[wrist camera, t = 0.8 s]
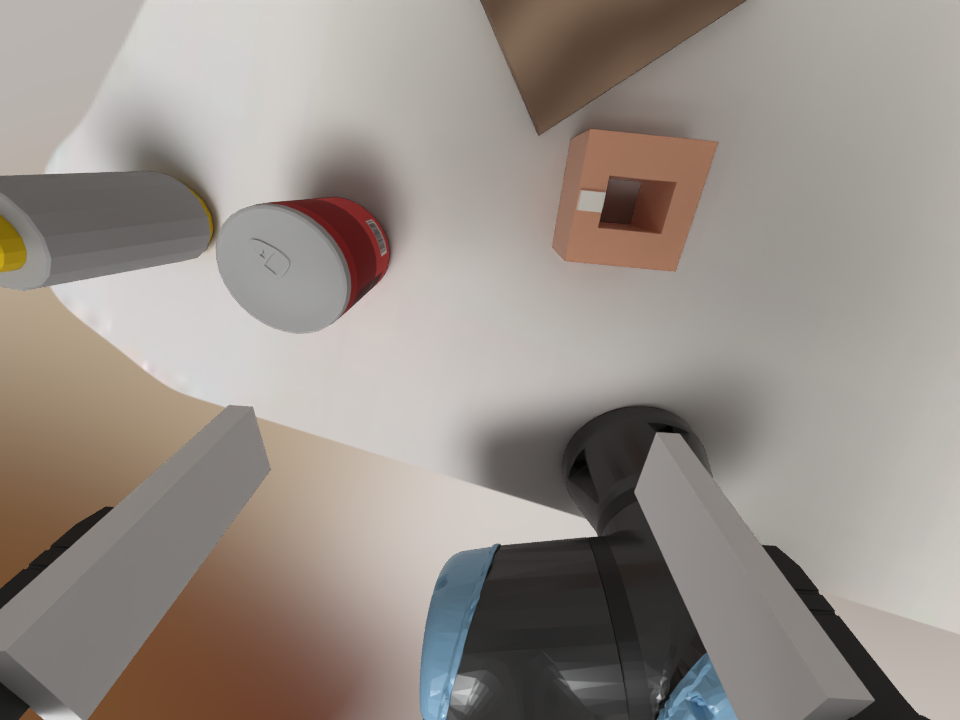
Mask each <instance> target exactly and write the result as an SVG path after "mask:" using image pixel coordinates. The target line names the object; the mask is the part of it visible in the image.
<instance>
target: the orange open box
mask: <svg viewBox="0 0 960 720" xmlns="http://www.w3.org/2000/svg"><path fill="white" fill-rule="evenodd" d="M717 145H718V142H715V141H706V140H696V139H686V138H676V137H666V136H656V135H646V134H636V133H626V132H617V131H607V130H597V129H589V130H587V131H585V132H583V133H582V134H580V135H578V136H576V137H574V138H572V139H571V140H570V146H569V152H568V157H567V163H566V169H565V175H564V181H563V186H562V192H561V198H560V204H559V209H558V215H557V221H556V227H555V233H554V238H553V244H552V248H553V249H554V250H555V251H556V252H557V253H558V254H559V255H560V256H561V257H562V258H563V259H564V260H565V261H570V262H581V263H591V264H602V265H612V266H623V267H633V268H644V269H654V270H665V271H676V268H677V265H678V262H679V259H680V256H681V253H682V250H683V247H684V244H685V241H686V238H687V235H688V232H689V229H690V226H691V223H692V220H693V217H694V214H695V211H696V208H697V205H698V202H699V199H700V196H701V193H702V190H703V187H704V184H705V181H706V178H707V175H708V172H709V169H710V166H711V163H712V160H713V157H714V154H715V151H716V148H717ZM609 179H614V180H624V181H634V182H642V183H641V186H640V190H639V194H638V198H637V202H636V206H635V209H634V213H633V217H632V221H631V225H628V224H618V223H608V222H599V221H600V216H601V213H602V208H603V204H604V199H605V195H606V189H607V185H608V180H609Z"/></svg>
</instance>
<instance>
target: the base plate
mask: <svg viewBox="0 0 960 720" xmlns="http://www.w3.org/2000/svg"><path fill="white" fill-rule="evenodd" d="M480 1H481V3H482V6H483V8H484V10H485V13H486V15H487V17H488V19H489V22H490V24H491V26H492V29H493V31H494V33H495V36H496V38H497V40H498V43H499V45H500V47H501V50H502V52H503V54H504V57H505V59H506V61H507V64H508V66H509V68H510V71H511V73H512V75H513V78H514V80H515V82H516V85H517V87H518V89H519V92H520V94H521V96H522V99H523V101H524V103H525V106H526V108H527V110H528V113H529V115H530V117H531V119H532V122H533V124H534V126H535V129H536V131H537V133H538V136H539V135H541V134H542V133H544V132H545V131H547V130H548V129H550V128H551V127H553V126H554V125H556V124H558V123H559V122H561V121H562V120H564V119H565V118H567V117H568V116H570V115H571V114H573V113H574V112H576V111H577V110H579V109H581V108H582V107H584V106H585V105H587V104H588V103H590V102H591V101H593V100H594V99H596V98H597V97H599V96H601V95H602V94H604V93H605V92H607V91H608V90H610V89H611V88H613V87H614V86H616V85H617V84H619V83H620V82H622V81H624V80H625V79H627V78H628V77H630V76H631V75H633V74H634V73H636V72H637V71H639V70H640V69H642V68H643V67H645V66H647V65H648V64H650V63H651V62H653V61H654V60H656V59H657V58H659V57H660V56H662V55H663V54H665V53H666V52H668V51H670V50H671V49H673V48H674V47H676V46H677V45H679V44H680V43H682V42H683V41H685V40H686V39H688V38H689V37H691V36H693V35H694V34H696V33H697V32H699V31H700V30H702V29H703V28H705V27H706V26H708V25H709V24H711V23H713V22H714V21H716V20H717V19H719V18H720V17H722V16H723V15H725V14H726V13H728V12H729V11H731V10H732V9H734V8H736V7H737V6H739V5H740V4H742V3H743V2H745V1H746V0H480Z"/></svg>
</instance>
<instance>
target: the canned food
mask: <svg viewBox="0 0 960 720" xmlns="http://www.w3.org/2000/svg"><path fill="white" fill-rule="evenodd" d="M216 259H217V264H218V268H219V272H220V274H221V277H222V279H223V281H224V284H225V285H226V287H227V288H228V290H229V292H230V293H231V295H232V296H233V297H234V299H235V300H236V301H237V302H238V303H239V305H240V306H241V307H243V308H244V309H245V310H246V311H247V312H248V313H249V314H250V315H252V316H253V317H255V318H256V319H258V320H259V321H260V322H262V323H264V324H266V325H268V326H270V327H272V328H275V329H278V330H281V331H284V332H290V333H297V334H299V333H311V332H315V331H319V330H321V329H323V328H325V327H327V326H329V325H331V324H333V323H334V322H335V321H336V320H337V319H339V318H340V317H341V316H342V315H343V314H345V313H346V312H347V311H348V310H349V309H350V308H351V307H352V306H353V305H354V304H355V303H357V302H358V301H359V300H360V299H361V298H362V297H363V296H364V295H365V294H366V293H367V292H368V291H370V290H371V289H372V288H373V287H374V286H375V285H376V284H377V283H378V282H379V281H380V280H381V279H382V277H383V276H384V275H385V272H386V270H387V268H388V263H389V246H388V241H387V238H386V235H385V233H384V230H383V229H382V227H381V225H380V224H379V222H378V221H377V220H376V219H375V218H374V216H373V215H372V214H371V213H369V212H368V211H367V210H366V209H365V208H364V207H362V206H360V205H358V204H357V203H355V202H353V201H350V200H347V199H344V198H338V197H330V198H317V199H305V200H293V201H281V202H269V203H263V204H256V205H253V206H250V207H246V208H244V209H241V210H239V211H237V212H236V213H234V214H233V215H231V216H230V217H229V218H228V219H227V220H226V222H225V223H224V224H223V226H222V228H221V230H220V232H219V234H218V238H217V243H216Z"/></svg>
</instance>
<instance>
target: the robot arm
mask: <svg viewBox="0 0 960 720" xmlns="http://www.w3.org/2000/svg"><path fill="white" fill-rule="evenodd" d="M562 468H563V474H564V478H565V482H566V486H567V489H568V492H569V494H570V496H571V498H572V499H573V501H574V502H575V503H576V505H577V506H578V508H579V509H580V510H581V512H582V513H583V514H584V516H585V517H586V519H587V520H588V521H589V522H590V524H591V525H592V527H593V528H594V529H595V531H596V532H597V535H598V537H589V538H586V537H585V538H574V539H564V540H553V541H543V542H532V543H522V544H511V545H501V544H495V545H493V546H492V547H488V548H481V549H474V550H467V551H462V552H459V553H457V554H455V555H454V556H452V557H451V558H450V559H449V560H448V561H447V562H446V564H445V565H444V567H443V569H442V570H441V572H440V575H439V577H438V579H437V582H436V585H435V588H434V592H433V595H432V598H431V603H430V607H429V611H428V616H427V621H426V627H425V633H424V640H423V648H422V658H421V671H420V710H421V714H422V717H423V720H930V719H928V718H926V717H924V716H921V715H919V714H918V713H917V712H916V711H915V710H914V709H913V708H912V707H911V705H910V704H909V703H908V702H907V701H906V700H905V699H904V698H903V696H902V695H901V694H900V693H899V691H898V690H897V689H896V688H895V686H894V685H893V684H892V682H891V681H890V680H889V679H888V677H887V676H886V675H885V674H884V672H883V671H882V670H881V669H880V667H879V666H878V665H877V663H876V662H875V661H874V660H873V659H872V657H871V656H870V655H869V653H868V652H867V651H866V650H865V648H864V647H863V646H862V645H861V643H860V642H859V641H858V639H857V638H856V637H855V636H854V634H853V633H852V632H851V631H850V629H849V628H848V627H847V626H846V624H845V623H844V622H843V621H842V619H841V618H840V617H839V616H837V615H835V612H834V611H835V610H834V609H833V608H832V607H831V605H830V604H829V603H828V602H827V600H826V599H825V598H824V597H823V595H820V594H819V592H818V591H819V590H818V589H817V588H816V586H815V585H814V584H813V583H812V581H811V580H810V579H809V577H808V576H807V575H806V574H805V572H804V571H803V570H802V569H801V567H800V566H799V565H797V564H796V563H795V562H794V561H793V560H792V559H790V558H789V557H788V556H787V555H786V554H785V553H783V552H782V551H781V550H780V549H779V548H778V547H776V546H768V545H761V544H760V543H759V541H758V540H757V538H756V537H755V536H754V534H753V533H752V532H751V530H750V529H749V528H748V526H747V525H746V523H745V522H744V521H743V519H742V518H741V517H740V515H739V514H738V513H737V511H736V510H735V508H734V507H733V506H732V504H731V503H730V502H729V500H728V499H727V498H726V496H725V495H724V493H723V492H722V491H721V489H720V488H719V487H718V485H717V484H716V483H715V481H714V480H713V477H712V473H711V469H710V466H709V462H708V458H707V455H706V451H705V449H704V446H703V445H702V443H701V441H700V439H699V438H698V437H697V435H696V434H695V433H694V432H693V431H692V429H691V428H690V427H689V426H688V425H687V423H686V422H684V421H683V420H682V419H681V418H679V417H678V416H676V415H674V414H672V413H670V412H668V411H665V410H662V409H658V408H652V407H629V408H623V409H618V410H614V411H611V412H608V413H606V414H603V415H601V416H599V417H597V418H595V419H594V420H592V421H590V422H589V423H588V424H586V425H585V426H584V427H582V428H581V429H580V430H579V431H578V432H577V433H576V434H575V435H574V437H573V438H572V439H571V441H570V442H569V444H568V446H567V448H566V450H565V453H564V456H563V463H562ZM270 470H271V468H270V465H269V462H268V458H267V455H266V451H265V447H264V444H263V440H262V437H261V434H260V430H259V427H258V423H257V420H256V416H255V413H254V409H253V407H249V406H233V405H229V406H228V407H226V408H225V409H224V410H223V411H222V412H221V413H220V414H219V415H218V416H216V417H215V418H214V419H213V420H212V421H211V422H210V423H209V424H208V425H206V426H205V427H204V428H203V429H202V430H201V431H200V432H198V433H197V434H196V435H195V436H194V437H193V438H192V439H191V440H189V441H188V442H187V443H186V444H185V445H184V446H183V447H182V448H181V449H179V450H178V451H177V452H176V453H175V454H174V455H173V456H172V457H170V458H169V459H168V460H167V461H166V462H165V463H164V464H163V465H162V466H160V467H159V468H158V469H157V470H156V471H155V472H154V473H153V474H151V475H150V476H149V477H148V478H147V479H146V480H145V481H144V482H142V483H141V484H140V485H139V486H138V487H137V488H136V489H135V490H133V491H132V492H131V493H130V494H129V495H128V496H127V497H126V498H124V499H123V500H122V501H121V502H120V503H119V504H118V505H117V506H116V507H104V508H103V509H101V510H99V511H98V512H96V513H94V514H93V515H91V516H89V517H88V518H86V519H84V520H82V521H81V522H79V523H77V524H76V525H75V526H73V527H72V528H71V529H70V530H69V531H68V532H66V533H65V534H64V535H63V536H62V537H61V538H59V539H58V540H57V541H56V542H55V543H54V544H52V545H51V548H50V549H49V550H46V551H44V552H43V553H42V554H41V555H39V556H38V557H37V558H36V559H35V560H33V561H32V562H31V563H30V564H29V567H28V568H27V569H23V570H22V571H21V572H19V573H18V574H17V575H16V576H15V577H14V578H12V579H11V580H10V581H9V582H8V583H6V584H5V585H4V586H3V587H2V588H1V589H0V720H19V719H20V717H21V716H22V715H23V714H24V713H25V712H26V710H27V709H28V708H31V709H32V710H33V711H34V712H36V713H37V714H38V715H39V716H41V717H42V718H43V719H44V720H87V719H88V718H89V717H90V715H91V714H92V713H93V711H94V710H95V708H96V707H97V706H98V704H99V703H100V702H101V700H102V699H103V697H104V696H105V695H106V693H107V692H108V691H109V689H110V688H111V687H112V685H113V684H114V683H115V681H116V680H117V678H118V677H119V676H120V674H121V673H122V672H123V670H124V669H125V668H126V666H127V665H128V664H129V662H130V661H131V660H132V658H133V657H134V655H135V654H136V653H137V651H138V650H139V649H140V647H141V646H142V645H143V643H144V642H145V640H146V639H147V638H148V636H149V635H150V634H151V632H152V631H153V630H154V628H155V627H156V626H157V624H158V623H159V621H160V620H161V619H162V617H163V616H164V614H165V613H166V612H167V610H168V609H169V608H170V606H171V605H172V604H173V602H174V601H175V600H176V598H177V597H178V596H179V594H180V593H181V591H182V590H183V589H184V587H185V586H186V585H187V583H188V582H189V581H190V579H191V578H192V576H193V575H194V574H195V572H196V571H197V570H198V568H199V567H200V566H201V564H202V563H203V561H204V560H205V559H206V557H207V556H208V555H209V553H210V552H211V551H212V549H213V548H214V547H215V545H216V544H217V543H218V541H219V540H220V538H221V537H222V536H223V534H224V533H225V532H226V530H227V529H228V528H229V526H230V525H231V523H232V522H233V521H234V519H235V518H236V517H237V515H238V514H239V512H240V511H241V510H242V508H243V507H244V506H245V504H246V503H247V502H248V500H249V499H250V498H251V496H252V495H253V494H254V492H255V491H256V489H257V488H258V487H259V485H260V484H261V483H262V481H263V480H264V478H265V477H266V475H267V474H268V473H269V471H270Z"/></svg>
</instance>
